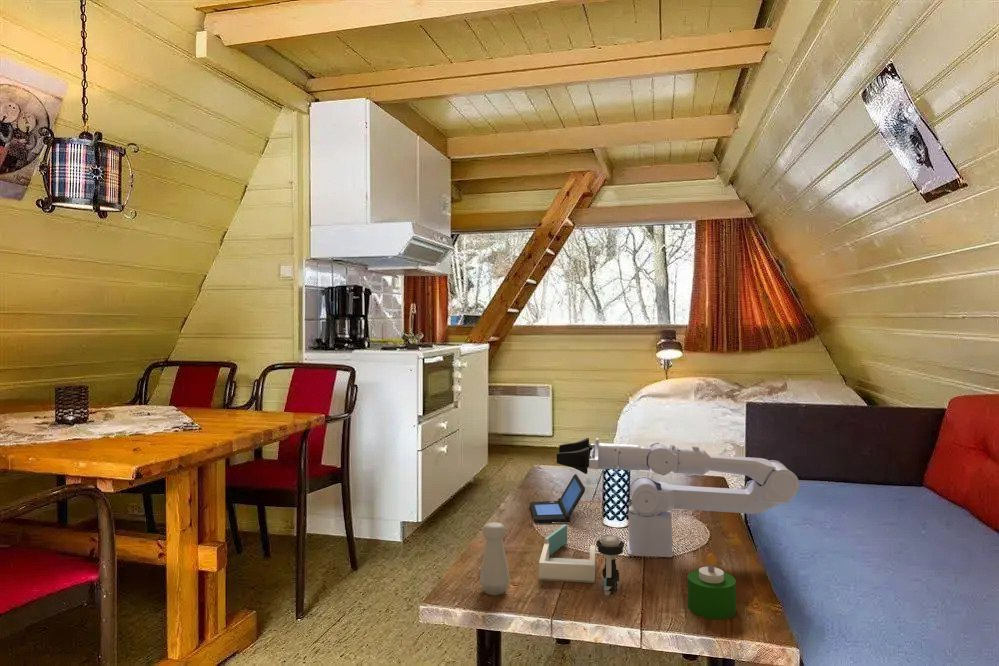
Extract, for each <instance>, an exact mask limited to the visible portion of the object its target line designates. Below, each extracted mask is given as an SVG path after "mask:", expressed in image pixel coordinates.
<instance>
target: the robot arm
mask: <svg viewBox="0 0 999 666" xmlns="http://www.w3.org/2000/svg"><path fill="white" fill-rule="evenodd" d="M599 439H600V438H599V437H596V438H595V443H590V437H586V438H584V439H582V440H578V441H576V442H570V443H564V444H560V445H559V448H558V449H559V450H558V453H556V464H558V465H561V466H565V467H569V468H573V469H575V470H577V471H579V472H581V473H583V474H585V475H588V470H589V469H590V470H591V469H593V470H618V471H619V470H620V471H621V470H622V471H636V472H637V471H651V472H654V473H655V474H657V475H660V476H667V475H668V474H670V473H671V472H672V474H673V473H674V474H681V475H694V476H704V475H705V474H706V473H708V472H711V471H712V472H719V473H726V474H734V475H741V476H747V477H749V478H750V479H752V481H751V482H750V484H749V485H747V486H746V487H745V489H744V488H742V489H741V488H730V487H729V488H727V487H711V486H710V487H709V486H708V487H707V486H693V485H677V484H670V483H667V482H665V481H658V480H657V481H656V480H654V479H652V478H651V477H649V476H639V477H636V478H634V480H633V481H632V482H631V484H630V485H629V488H630V489H629V492H630V496H631V501H630V502H631V505H630V506H629V507H628V541H626V547H627V548H626V549H627V555H628V556H635V557H636V556H637V557H657V558H673V544H674V543H673V541H674V539H673V528H672V525H673V524H672V514H671V512H670V510H675V509H676V510H687V511H688V510H689V511H690V510H691V511H706V512H722V513H723V512H724V513H736V514H748V515H749V514H750V515H751V514H752V515H754V514H755V515H758V514H761V513H763V512H765V511H767V510H770V509H772V508H774V507H777V506H779V505H781V504H782V505H783V504H789V502H791V500H793V498H794V497H795V496H796V494H797V493H798V491H799V489H800V481H799V478H798V476H797V475H796V474H795V473H794V472H793V471H791V470H790V469H789V468H787V467H786V466H785V465H784V463H782V462H780V461H779V460H774V459H771V460H768V459H767V458H762V457H749V456H747V457H746V456H728V455H727V456H724V455H710V454H708V453H707V451H706V450H705V449H703V448H702V449H701V448H700V447H699V446H698V445H692V446H691V448H690V447H681V446H680V447H679V446H676V445H675V444H670V445H669V447H668V446H666V444H661V443H660V442H655V443H651V444H649V445H645V444H644V445H640V444H630V443H609V442H608V443H606V442H605V443H604V442H600V440H599Z"/></svg>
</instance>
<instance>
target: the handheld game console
mask: <svg viewBox="0 0 999 666" xmlns="http://www.w3.org/2000/svg"><path fill="white" fill-rule="evenodd" d="M585 492H586V487H585V485H584V484H583V482H582V480H581V479H580V477H579V476H578V474H577V473H575V474H574V475H572V478H571V479H570V481H569V482H568V484H567V486H566V488H565V489H564V492H562V495H561V497H558V498H557V499H558V500H549V501H548V500H544V501H542V500H541V501H540V500H539V501H531V502H529V509H530V512H531V515H532V520H533V522H534V523H535V522H536V523H535V524H538V523H543V524H553V523H552V522H570V523H571V516H572V515H573V512H574V511H575V509H576V508H577V506H578V504H579V502H580V501H581V499H582V497H583V495H584V494H585Z"/></svg>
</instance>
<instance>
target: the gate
mask: <svg viewBox="0 0 999 666" xmlns="http://www.w3.org/2000/svg"><path fill="white" fill-rule="evenodd" d="M543 540H544V543H549V557H550V556H551V555H553V554H554V553H555V552H556V551H558V550H559V549H560V548H562V547H563V546H564V545H565V544H567V543H568V524H566V523H563V525H561V526H560V527H558V528H557V529H555V530H554V531H553V532H552V533H550V534H549V535H547V536H546V537H544V539H543Z"/></svg>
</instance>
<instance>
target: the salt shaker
mask: <svg viewBox="0 0 999 666" xmlns="http://www.w3.org/2000/svg"><path fill="white" fill-rule="evenodd" d="M482 535H483V538H485V543H484V550H483V557H482V562H481V569H480V576H479V582H480V584H481V586H482V588H483V589H484V592H485V594H487V595H491V596H497V595H503V594H505V591H506V590H507V587H508V585H509V583H510V572H509V566H508V562H507V561H508V560H507V557H506V556H507V555H506V552H505V551H506V550H505V546H504V541H503V538H504V537H505V535H506V527H505V525H504V524H503V523H500V522H487V523H486V524H484V525H483V529H482Z"/></svg>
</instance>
